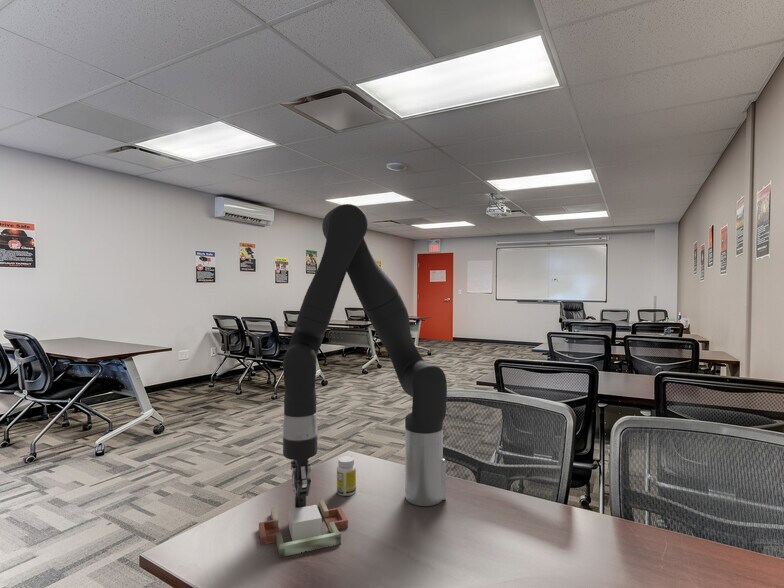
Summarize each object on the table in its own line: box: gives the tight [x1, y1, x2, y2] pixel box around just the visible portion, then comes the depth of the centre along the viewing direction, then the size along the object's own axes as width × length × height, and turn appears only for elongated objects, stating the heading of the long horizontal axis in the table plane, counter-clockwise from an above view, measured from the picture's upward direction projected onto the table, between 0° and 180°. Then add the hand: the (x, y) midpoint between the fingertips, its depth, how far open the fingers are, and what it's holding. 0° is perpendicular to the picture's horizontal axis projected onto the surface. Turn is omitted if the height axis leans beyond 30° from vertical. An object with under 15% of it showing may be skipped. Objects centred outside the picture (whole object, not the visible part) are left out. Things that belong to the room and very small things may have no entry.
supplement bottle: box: [336, 455, 357, 497], centre depth 109 cm, size 5×5×8 cm
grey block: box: [288, 504, 323, 542], centre depth 91 cm, size 6×6×4 cm
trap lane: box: [258, 498, 349, 558], centre depth 92 cm, size 18×17×2 cm
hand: (300, 511), depth 95 cm, fingers closed
